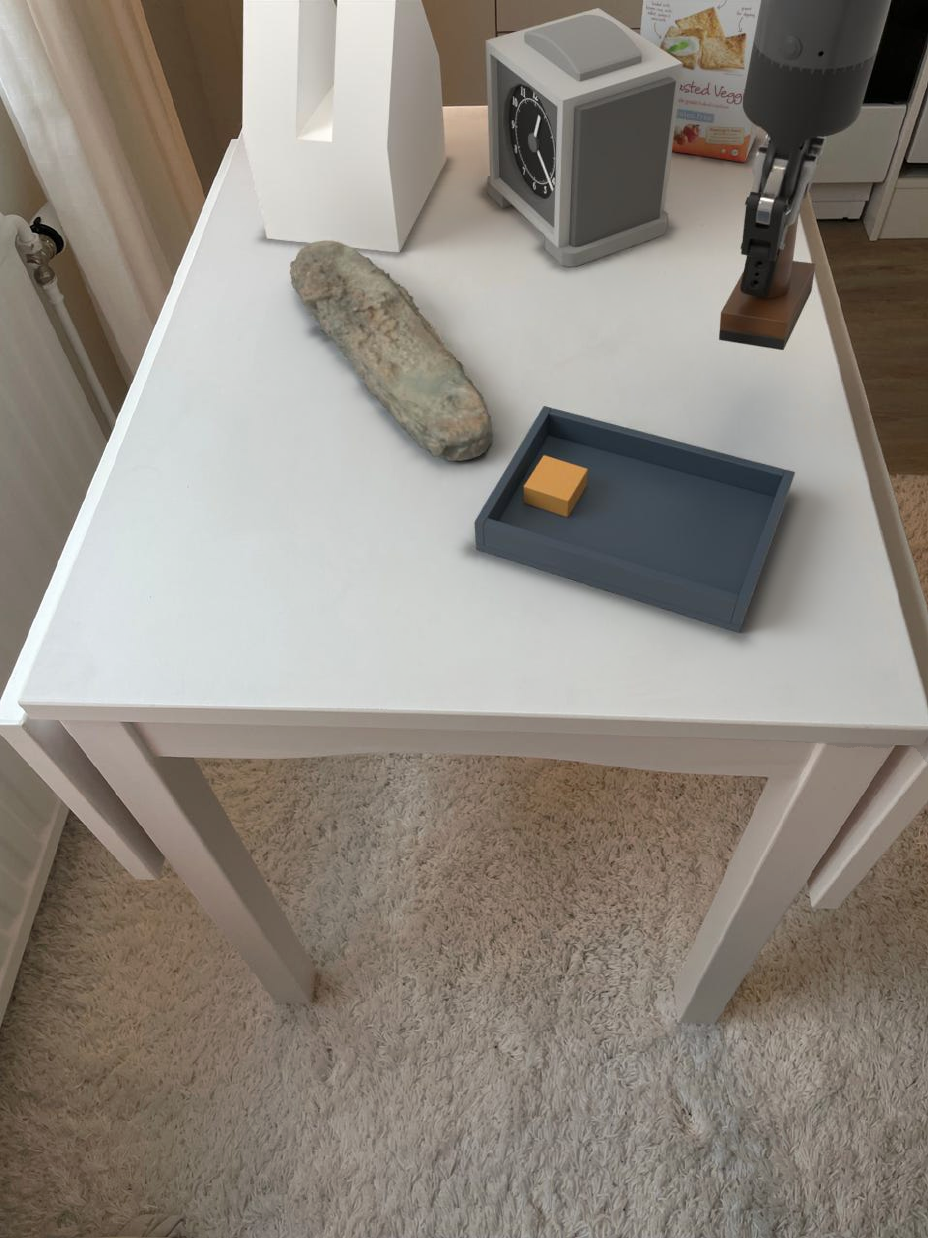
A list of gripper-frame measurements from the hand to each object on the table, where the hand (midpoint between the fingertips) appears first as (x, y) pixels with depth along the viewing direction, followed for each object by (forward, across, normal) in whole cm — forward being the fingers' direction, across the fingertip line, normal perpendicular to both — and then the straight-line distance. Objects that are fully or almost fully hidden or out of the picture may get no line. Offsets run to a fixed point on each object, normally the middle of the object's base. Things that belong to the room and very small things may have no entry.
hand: (760, 278), depth 73 cm
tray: (+14, -15, +4) cm, 21 cm away
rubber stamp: (+3, 0, -1) cm, 3 cm away
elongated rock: (+15, -3, +33) cm, 36 cm away
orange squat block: (+14, -15, +11) cm, 23 cm away
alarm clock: (+15, +27, +25) cm, 40 cm away
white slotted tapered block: (+15, +21, +49) cm, 55 cm away
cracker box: (+15, +45, +17) cm, 50 cm away
